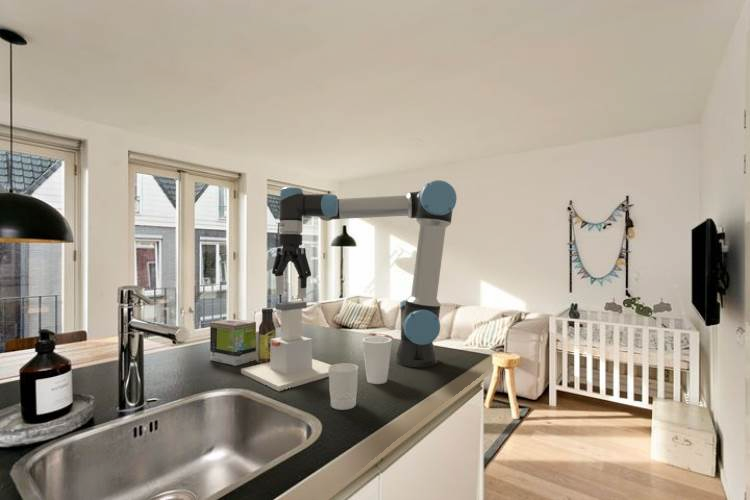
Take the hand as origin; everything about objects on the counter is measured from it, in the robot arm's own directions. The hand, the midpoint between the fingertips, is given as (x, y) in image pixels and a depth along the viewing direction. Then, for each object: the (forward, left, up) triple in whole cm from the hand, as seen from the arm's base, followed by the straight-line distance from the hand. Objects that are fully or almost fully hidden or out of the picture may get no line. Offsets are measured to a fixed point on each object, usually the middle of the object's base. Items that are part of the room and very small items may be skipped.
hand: (290, 296), depth 128 cm
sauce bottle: (+18, -1, -26) cm, 32 cm away
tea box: (+29, +7, -26) cm, 39 cm away
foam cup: (-26, -15, -26) cm, 40 cm away
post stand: (0, 0, -26) cm, 26 cm away
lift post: (0, 0, -24) cm, 24 cm away
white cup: (-33, +5, -26) cm, 43 cm away
